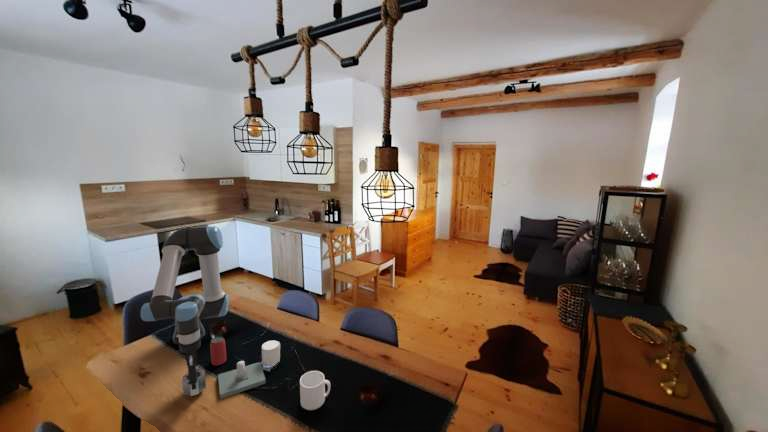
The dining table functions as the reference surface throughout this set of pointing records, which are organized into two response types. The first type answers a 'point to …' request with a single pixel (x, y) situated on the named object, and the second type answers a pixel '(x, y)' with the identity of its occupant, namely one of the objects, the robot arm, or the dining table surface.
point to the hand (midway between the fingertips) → (194, 387)
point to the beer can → (218, 351)
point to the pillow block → (241, 379)
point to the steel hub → (200, 379)
